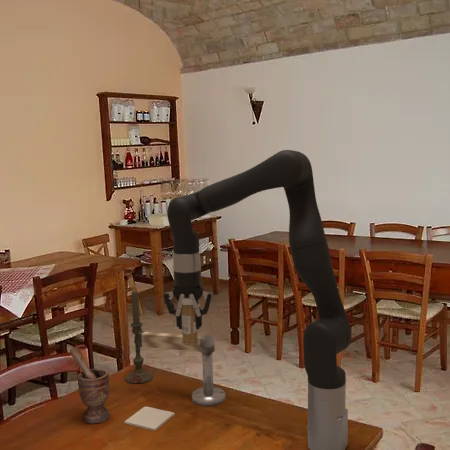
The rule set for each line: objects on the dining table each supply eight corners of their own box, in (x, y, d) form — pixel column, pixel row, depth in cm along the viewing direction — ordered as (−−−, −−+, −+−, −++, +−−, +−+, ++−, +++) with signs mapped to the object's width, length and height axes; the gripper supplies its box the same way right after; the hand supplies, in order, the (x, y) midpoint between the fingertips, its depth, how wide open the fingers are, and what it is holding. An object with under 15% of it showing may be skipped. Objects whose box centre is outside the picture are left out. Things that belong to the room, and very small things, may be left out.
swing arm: (216, 349, 172) (216, 335, 171) (212, 354, 168) (211, 340, 167) (143, 343, 179) (142, 329, 178) (137, 347, 174) (136, 334, 174)
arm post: (230, 394, 175) (229, 349, 173) (215, 408, 166) (214, 360, 164) (202, 389, 179) (200, 344, 177) (185, 402, 170) (184, 355, 168)
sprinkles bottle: (201, 343, 160) (199, 296, 158) (186, 347, 158) (185, 299, 156) (192, 339, 164) (191, 293, 162) (178, 342, 161) (177, 296, 159)
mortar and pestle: (65, 423, 159) (60, 355, 156) (77, 409, 168) (73, 343, 165) (104, 426, 157) (100, 356, 154) (115, 411, 166) (111, 345, 163)
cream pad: (174, 414, 163) (174, 412, 163) (155, 430, 154) (154, 428, 154) (145, 408, 167) (145, 406, 167) (124, 423, 159) (124, 421, 158)
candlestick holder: (120, 382, 186) (115, 292, 181) (132, 371, 194) (128, 285, 190) (146, 385, 183) (141, 293, 179) (157, 374, 192) (153, 286, 187)
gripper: (214, 265, 160) (216, 324, 163) (164, 265, 162) (167, 323, 165) (211, 271, 153) (213, 333, 156) (158, 271, 155) (161, 332, 157)
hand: (189, 328), depth 160 cm, fingers closed on sprinkles bottle, 4 cm apart
